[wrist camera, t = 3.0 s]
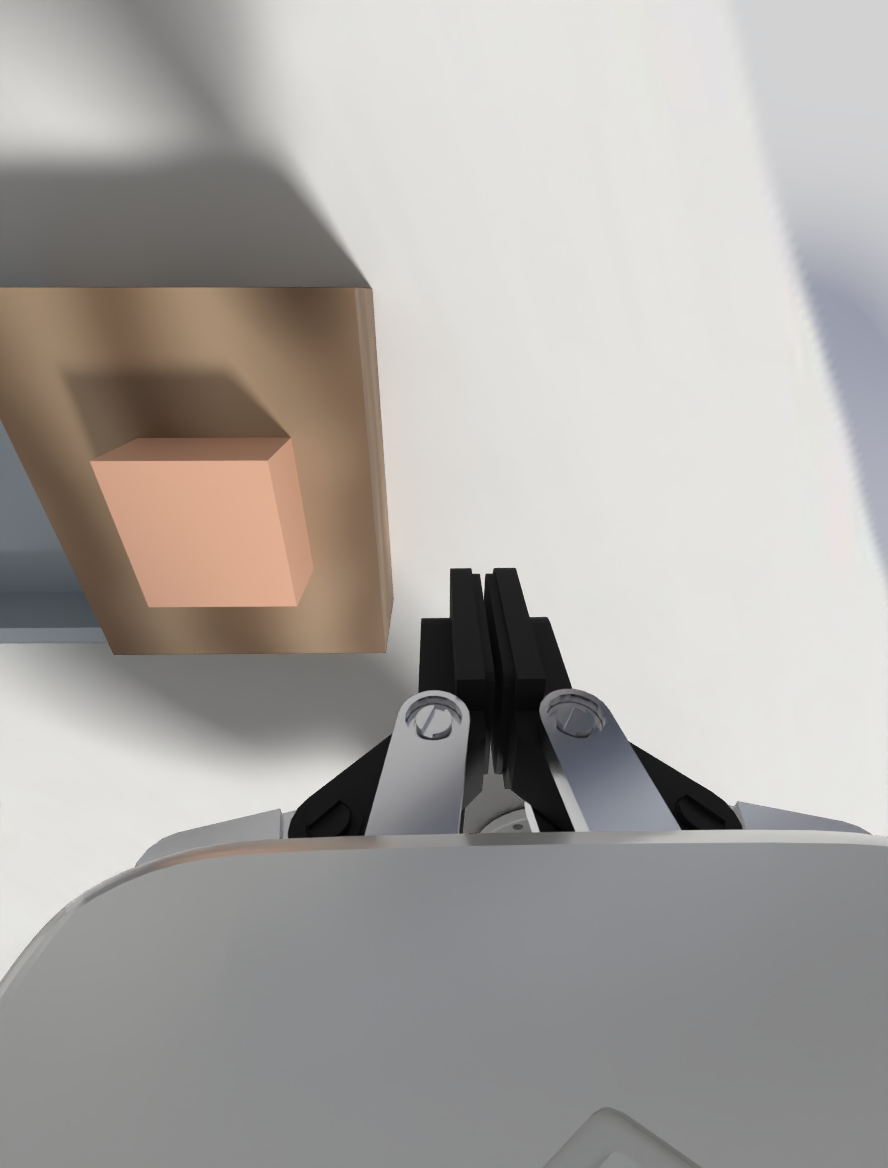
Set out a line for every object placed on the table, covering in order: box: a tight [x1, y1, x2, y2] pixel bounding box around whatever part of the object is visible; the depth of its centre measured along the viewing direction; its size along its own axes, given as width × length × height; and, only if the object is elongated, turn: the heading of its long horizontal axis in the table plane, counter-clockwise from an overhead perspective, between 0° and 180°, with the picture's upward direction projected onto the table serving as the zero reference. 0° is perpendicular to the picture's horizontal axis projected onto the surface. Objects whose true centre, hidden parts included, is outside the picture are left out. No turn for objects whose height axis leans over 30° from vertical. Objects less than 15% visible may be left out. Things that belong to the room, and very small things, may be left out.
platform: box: [0, 287, 394, 655], centre depth 22 cm, size 14×16×5 cm
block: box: [90, 438, 314, 607], centre depth 19 cm, size 6×6×3 cm
